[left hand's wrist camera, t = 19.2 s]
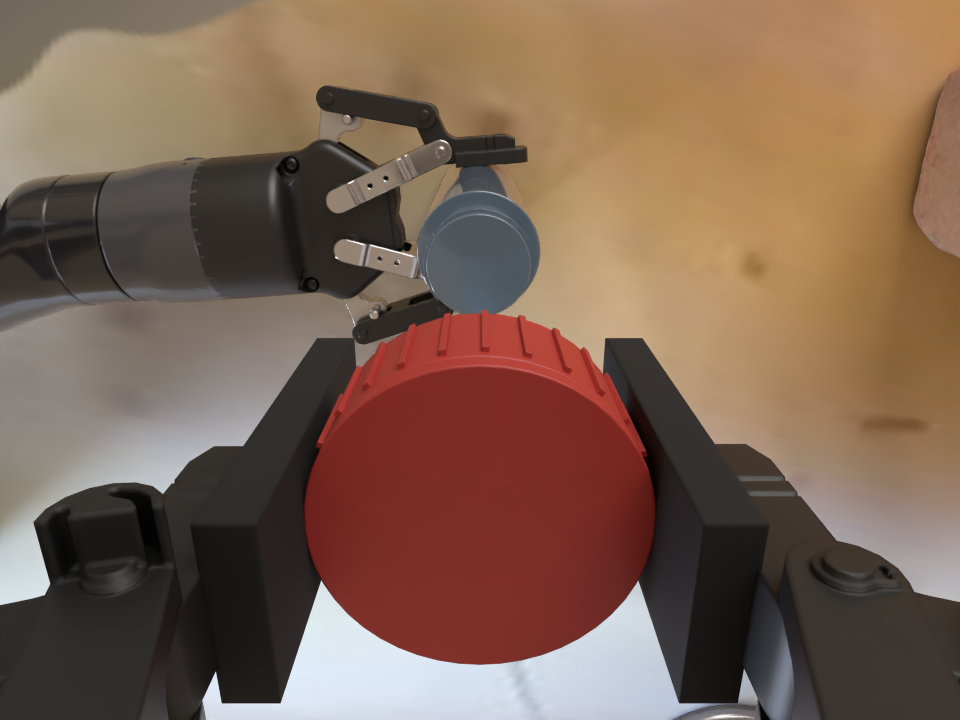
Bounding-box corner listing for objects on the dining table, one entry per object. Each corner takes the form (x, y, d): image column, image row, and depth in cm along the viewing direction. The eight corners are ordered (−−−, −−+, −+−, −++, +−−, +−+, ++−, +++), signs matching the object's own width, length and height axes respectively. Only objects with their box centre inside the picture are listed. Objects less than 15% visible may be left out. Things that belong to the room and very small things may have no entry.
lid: (383, 596, 13) (364, 697, 11) (288, 351, 12) (241, 412, 9) (651, 538, 13) (687, 631, 11) (595, 272, 11) (624, 315, 9)
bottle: (490, 138, 41) (499, 171, 23) (531, 206, 43) (570, 286, 25) (425, 183, 42) (385, 247, 24) (467, 247, 44) (459, 353, 26)
